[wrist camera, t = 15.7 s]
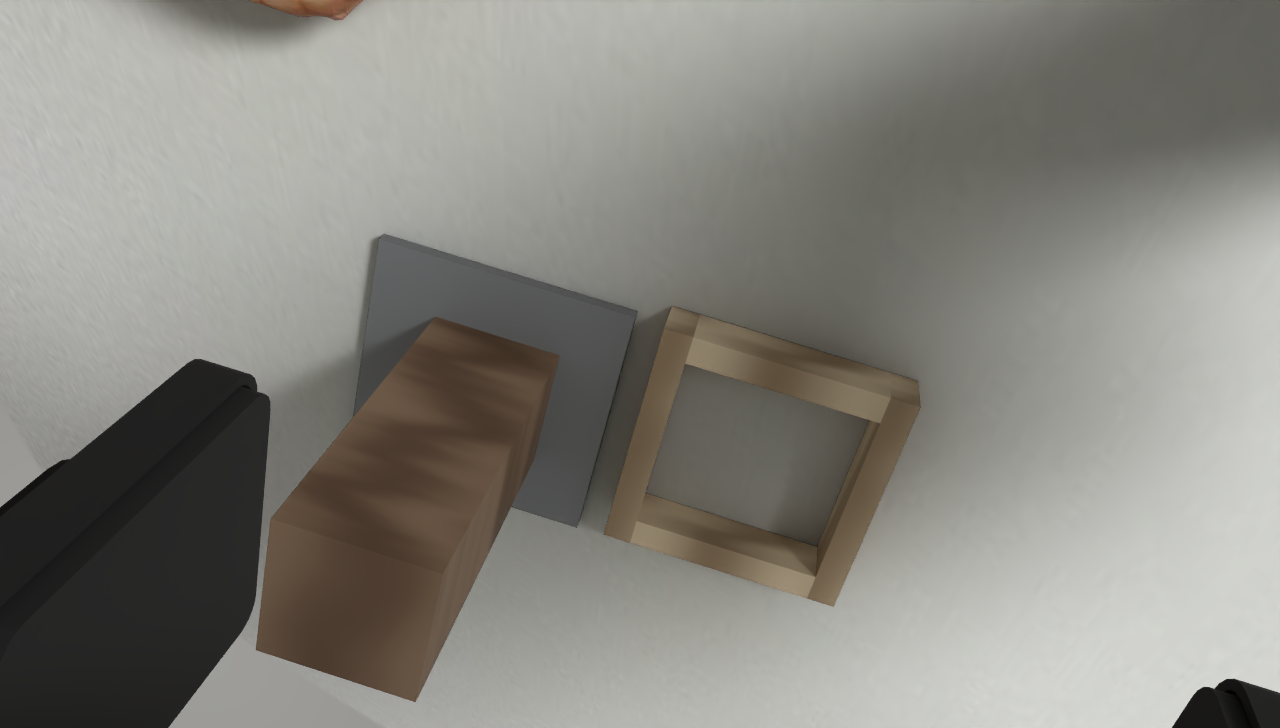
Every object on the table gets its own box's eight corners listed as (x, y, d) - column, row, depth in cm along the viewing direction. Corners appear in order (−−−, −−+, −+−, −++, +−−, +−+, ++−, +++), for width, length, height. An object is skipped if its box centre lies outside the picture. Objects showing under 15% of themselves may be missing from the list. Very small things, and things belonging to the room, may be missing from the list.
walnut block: (560, 355, 47) (442, 574, 34) (533, 460, 49) (415, 701, 36) (435, 316, 47) (270, 518, 34) (415, 423, 50) (255, 650, 36)
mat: (637, 311, 46) (635, 317, 45) (579, 520, 51) (576, 527, 51) (384, 234, 46) (378, 238, 46) (352, 448, 52) (347, 455, 51)
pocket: (918, 381, 45) (920, 407, 43) (834, 575, 50) (833, 606, 48) (672, 306, 46) (663, 328, 44) (613, 506, 50) (603, 534, 49)
